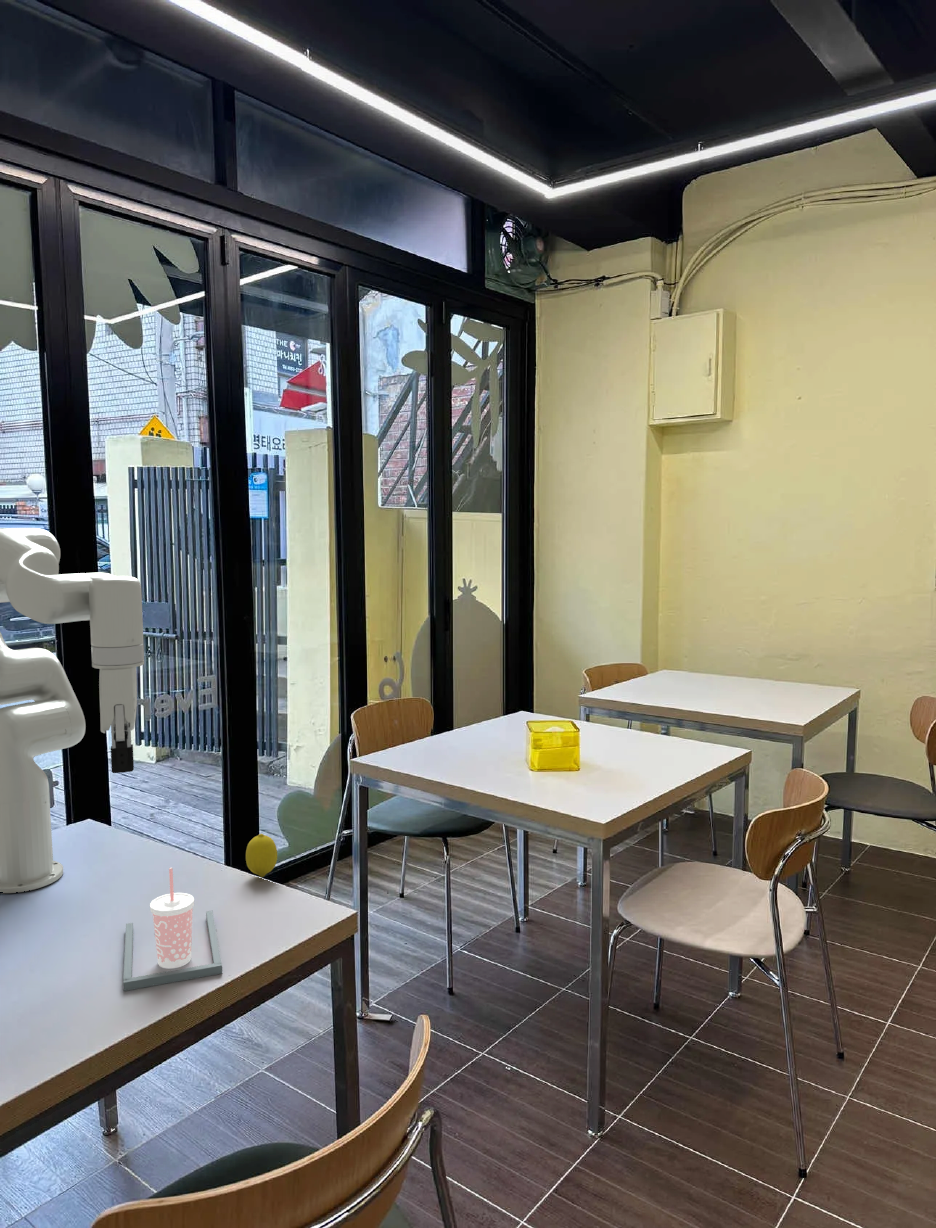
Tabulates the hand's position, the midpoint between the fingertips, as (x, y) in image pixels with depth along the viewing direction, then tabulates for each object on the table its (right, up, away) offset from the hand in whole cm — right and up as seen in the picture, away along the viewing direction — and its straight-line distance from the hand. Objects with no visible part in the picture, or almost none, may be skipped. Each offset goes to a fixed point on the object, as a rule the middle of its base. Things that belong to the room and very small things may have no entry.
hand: (122, 770), depth 136 cm
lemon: (+17, -23, +20) cm, 35 cm away
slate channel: (+10, -26, -7) cm, 28 cm away
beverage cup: (+12, -26, -10) cm, 30 cm away
